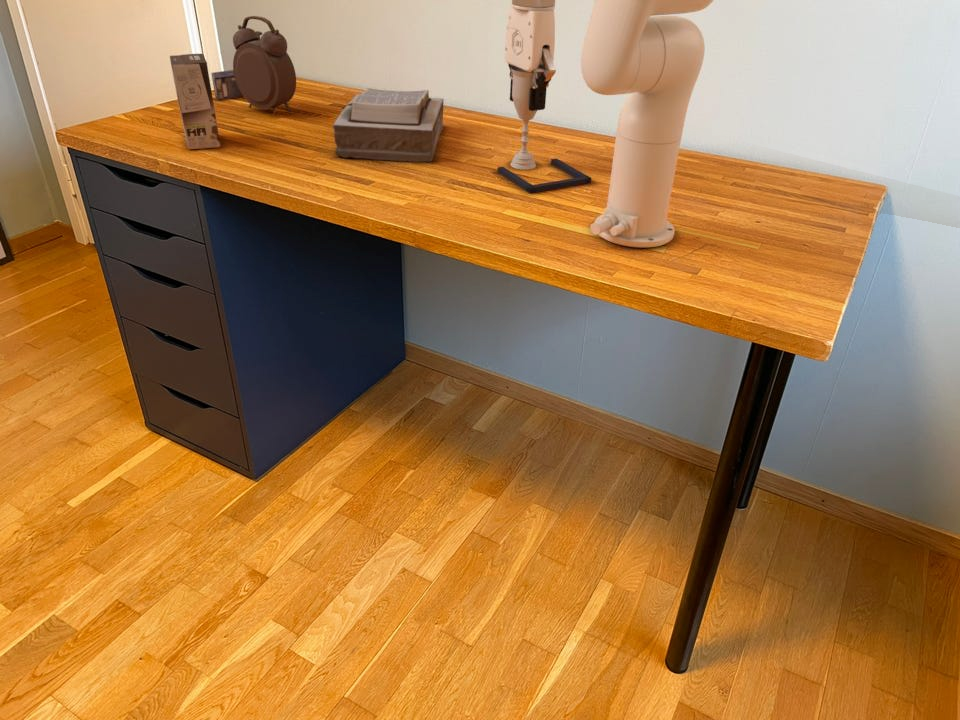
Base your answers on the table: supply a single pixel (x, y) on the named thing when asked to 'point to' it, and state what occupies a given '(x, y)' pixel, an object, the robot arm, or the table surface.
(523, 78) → the chalice
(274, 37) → the alarm clock
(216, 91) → the mini dv tape
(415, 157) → the bible
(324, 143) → the table surface
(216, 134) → the coffee box
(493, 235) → the table surface
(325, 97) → the table surface
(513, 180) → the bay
